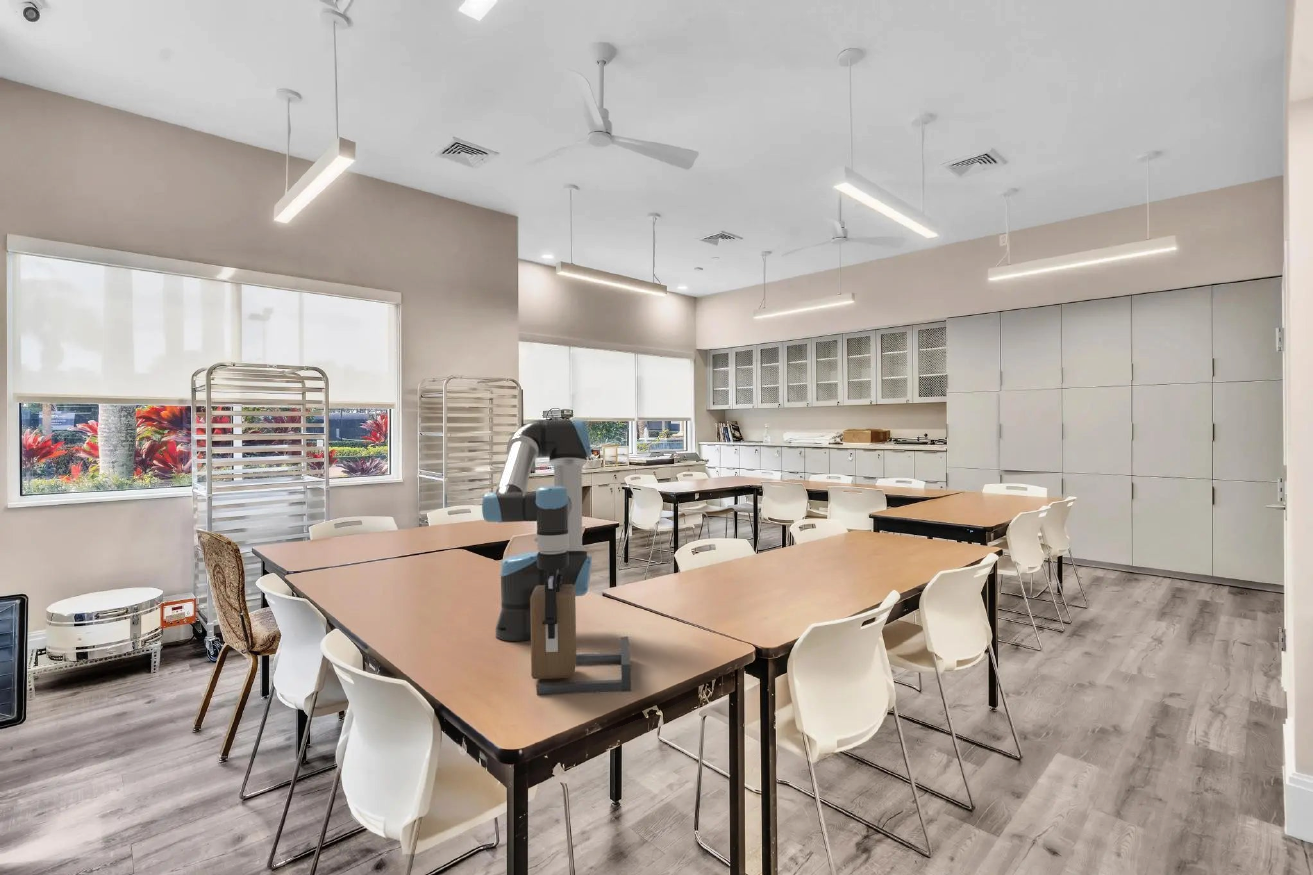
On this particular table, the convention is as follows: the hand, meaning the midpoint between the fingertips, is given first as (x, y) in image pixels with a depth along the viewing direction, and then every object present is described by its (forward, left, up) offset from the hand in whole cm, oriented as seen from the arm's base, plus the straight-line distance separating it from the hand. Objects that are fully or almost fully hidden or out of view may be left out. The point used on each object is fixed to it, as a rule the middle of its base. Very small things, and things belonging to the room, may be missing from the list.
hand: (554, 643), depth 145 cm
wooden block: (0, 0, -7) cm, 7 cm away
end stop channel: (+7, 0, -8) cm, 11 cm away
